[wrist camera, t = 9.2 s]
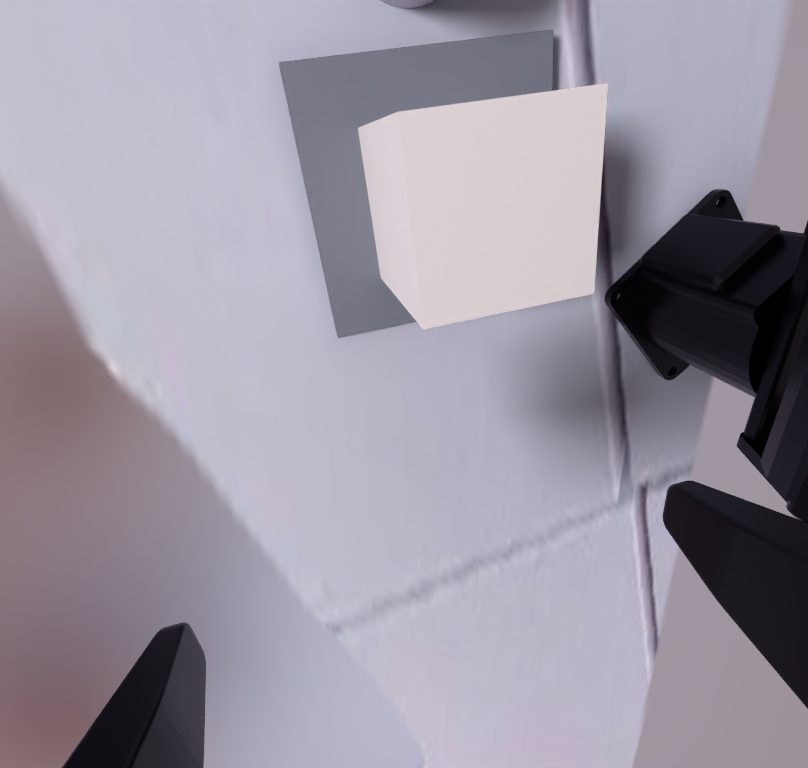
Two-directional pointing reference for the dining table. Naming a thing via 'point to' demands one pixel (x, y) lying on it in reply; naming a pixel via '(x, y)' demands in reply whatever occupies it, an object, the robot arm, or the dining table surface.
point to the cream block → (487, 202)
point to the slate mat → (372, 100)
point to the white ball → (407, 3)
